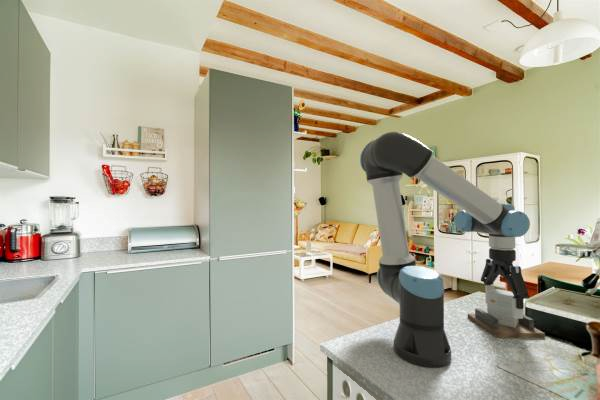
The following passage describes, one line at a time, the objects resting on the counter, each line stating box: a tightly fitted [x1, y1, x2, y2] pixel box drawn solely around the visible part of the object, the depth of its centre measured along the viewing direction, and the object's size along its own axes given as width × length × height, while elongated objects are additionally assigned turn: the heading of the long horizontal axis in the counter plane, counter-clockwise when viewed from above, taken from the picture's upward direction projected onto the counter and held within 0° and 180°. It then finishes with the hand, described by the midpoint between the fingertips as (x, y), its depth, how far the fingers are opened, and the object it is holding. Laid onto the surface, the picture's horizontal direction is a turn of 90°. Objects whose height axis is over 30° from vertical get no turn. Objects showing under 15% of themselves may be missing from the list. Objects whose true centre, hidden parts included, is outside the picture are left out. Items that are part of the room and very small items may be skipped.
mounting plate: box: [467, 308, 546, 339], centre depth 98 cm, size 15×16×4 cm
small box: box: [486, 288, 519, 328], centre depth 98 cm, size 8×6×10 cm
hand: (502, 310), depth 98 cm, fingers open, 13 cm apart
